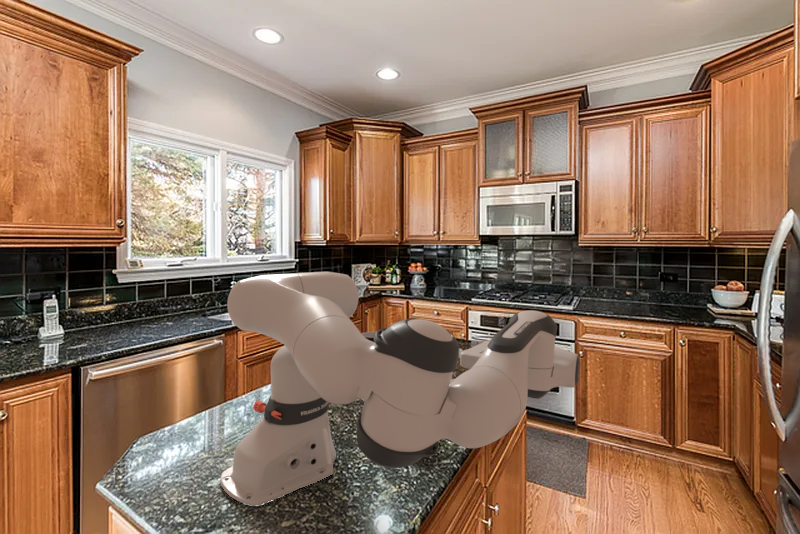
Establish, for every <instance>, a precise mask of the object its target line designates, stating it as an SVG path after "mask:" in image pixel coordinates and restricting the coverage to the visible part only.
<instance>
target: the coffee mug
mask: <svg viewBox="0 0 800 534" xmlns="http://www.w3.org/2000/svg"><path fill="white" fill-rule="evenodd" d="M376 332H377V331H366V332H361V334H362V335H363V336H364V337H365V338H366V339H368V340H370V341H372V342H375V341H374V334H375V333H376Z"/></svg>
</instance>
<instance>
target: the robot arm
mask: <svg viewBox="0 0 800 534" xmlns="http://www.w3.org/2000/svg"><path fill="white" fill-rule="evenodd" d="M359 297H360V296H359V290H358V287H357V285H356V283H355V282H354V279H352V277H351V276H349V274H345V273H339V272H333V271H313V272H295V273H276V274H274V273H273V274H261V275H256V276H253V277H252V276H251V277H247V278H244V279H240V280H238V281H237V282H236V283H235V284H234V285H233V286H232V288H231V290H230V292H229V294H228V297H227V303H226V305H227V313H228V315H229V317H230V319H231V321H232V323H233V324H234V325H235V326H236V327H237V328H238V329H240V331H246V332H253V333H257V334H261V335H264V336H265V337H266V336H267V337H269V338H272V339H273V340H276V341H277V342H279V343H280V344H283V346H282V347H280V348H279V349H278V350H277V351H276V352H275V353H274V355H273V356H272V358H271V361H270V389H271V392H270V393H271V394H270V395H269V398H268V399H267V403H265V402H263V401H261V400H260V399H259V400H256V401H255V402H254V403H253V407H252V409H253V410H254V411H255V412H257V413H259V414H262V413H263V417H262V418H261V420H260V421H258V423H256V425H255V426H254V427H253V428H252V429H251V430H250V432H248V433H247V434H246V436H245V437H244V438H243V439H242V440H241V441H239V443H238V444H237V446H236V448H235V451H234V455H233V461H232V462H233V463H232V466H230V467H228V468H226V469H225V470H223V471H222V472H221V475H220V486H222V487H223V489H224V490H223V489H222V490H223V492H224V491H225V492H226V493H227V494H228V495H230V496H231V497H232V498H234V499H236V500H237V501H240V502H243V503H245V504H249V505H260V504H263V503H266V502H268V501H271V500H274V499H276V498H278V497H280V496H283V495H285V494H288V493H290V492H293V491H295V490H297V489H299V488H302V487H305V486H307V485H309V486H311V485H310V484H312V485H314V484H316V483H318V482H317V481H319V482H321V481H323V480H325V479H327V478H326V477H328V476H330V475H332V474H333V475H334V473H335V472H334V463H335V460H336V458H337V451H336V448H335V446H334V442H333V439H332V433H331V429H330V420H329V409H330V404H333V405H346V404H347V405H348V404H351V403H353V402H355V401H358V400H359V399H362V400H364V401H363V407H362V411H361V413H360V414H359V416H358V420H357V427H356V442H357V446H358V448H359V450H360V451H361V452H362V454H363V455H364V456H365V457H366V458H367V459H368V460H370V461H371V462H372V463H374V464H376V465H377V466H380V467H383V468H385V469H400V468H404V467H408V466H410V465H411V466H412V465H414V464H416V463H417V462H419V461H420V460H421V459H423V458H431V457H434V455H436V453H437V452H438V450H439V449H438V448H439V442H438V441H440V440H443V439H444V440H445V439H446V440H448V441H451V442H452V443H454V444H455V445H458V446H460V447H462V448H466V449H479V448H482V447H485V446H487V445H490V444H493V443H495V442H496V441H499V440H500V439H502V438H503V437H505V435H507V434H508V433H509V432H510V431H511V430H512V429H513V428H514V427H515V426H516V425H517V424H518V423H519V422H520V421H521V419H522V417H523V415H524V413H525V410H526V408H527V402H528V398H531V399H536V400H537V399H538V400H539V399H541V398H543V397H544V396H546V395H547V394H548V393H550V391H551V390H552V389H554V388H559V387H561V388H575V387H577V385H578V384H579V381H580V370H581V369H580V368H581V360H580V357H579V355H578V353H575V352H573V351H571V350H567V349H564V348H560V347H556V338H557V331H558V325H557V323H556V321H555V320H554V319H553V318H552V317H551V316H550V315H549V314H548V313H545V312H543V311H539V310H533V309H531V310H522V311H518V312H515V314H513V315H512V316H511V317H510V318H509V319H508V323H507V324H505V326H504V327H502V328H501V329H500V330H499V331H497V332H496V333H495V334H494V335H493V336H492V337H491V338H490V339H488V340H476V339H474V340H472V341H471V342H470V347H469V348H467V349H465V350H463V349H462V348H460V344H459V342H458V340H457V339H456V337H455V335H453V334H452V332H450V331H449V330H447V329H445V327H444V326H441V325H440V324H439V323H436V322H434V321H433V320H432V321H431V320H428V319H421V318H413V317H412V318H411V317H410V318H406V319H401V320H400V321H396V322H394V323H392V324H391V325H389V326H388V327H383V328H380V329H378V330H376V331H375V332H376V333H375V334H374V341H375V342H372V341H370V340H368V339H366V338H365V337H364V336H363V335H362V332H361V331H360V330H359V329H358V327H357V326H356V325H355V324H354V323H353V321H352V320H351V319H350V318H351V317H353V315H354V313H355V311H356V310H357V308H358V304H359ZM458 361H459V364H460V366H461V367H462V368H464V369H466V371H464V372H462V373H461V374H460V375H458V376H457V377H456V378H453V373H454V371H456V369H457V366H458ZM467 369H468V370H467ZM333 475H332V476H333ZM330 477H331V476H330ZM324 478H325V479H324ZM328 478H329V477H328ZM322 479H323V480H322ZM320 480H321V481H320ZM313 483H314V484H313ZM222 487H221V488H222ZM307 487H308V486H307ZM305 488H306V487H305ZM225 492H224V493H225ZM226 493H225V494H226ZM227 494H226V495H227ZM228 495H227V496H228ZM232 498H231V499H232ZM248 498H250V499H248Z"/></svg>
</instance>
